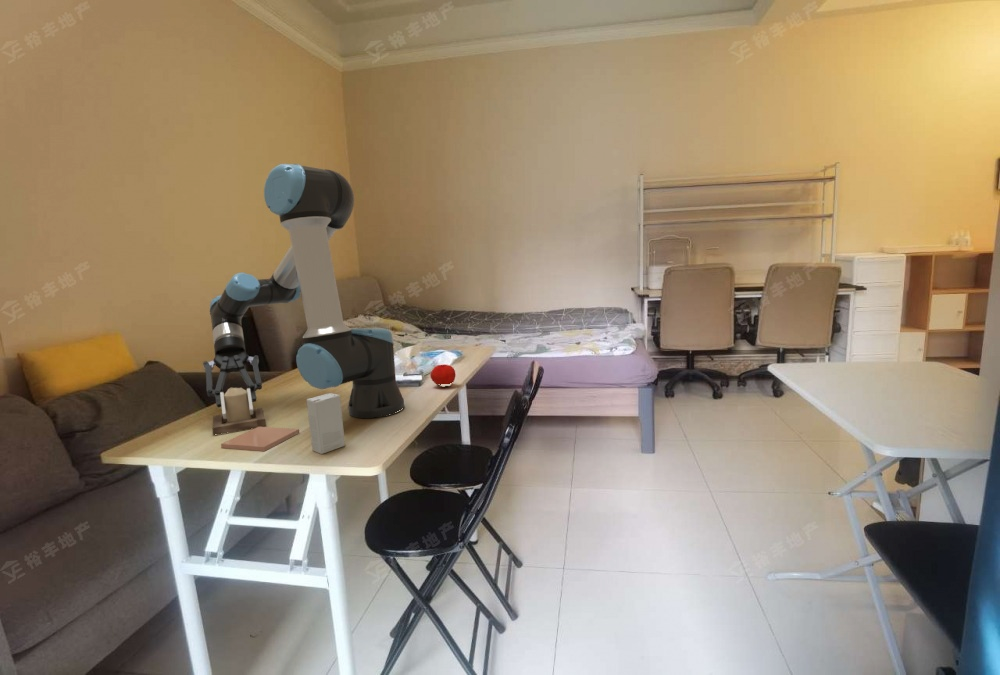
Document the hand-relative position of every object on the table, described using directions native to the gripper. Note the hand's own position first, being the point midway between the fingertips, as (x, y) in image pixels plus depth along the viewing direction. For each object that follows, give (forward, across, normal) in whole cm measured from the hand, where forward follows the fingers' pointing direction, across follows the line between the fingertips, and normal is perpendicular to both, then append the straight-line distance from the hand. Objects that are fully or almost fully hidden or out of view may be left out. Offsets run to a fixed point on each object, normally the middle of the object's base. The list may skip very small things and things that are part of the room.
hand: (238, 414), depth 129 cm
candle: (0, 0, -6) cm, 6 cm away
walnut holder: (0, 0, -5) cm, 5 cm away
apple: (-1, -59, -7) cm, 60 cm away
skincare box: (+23, -17, +18) cm, 34 cm away
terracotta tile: (+12, -4, +7) cm, 14 cm away
